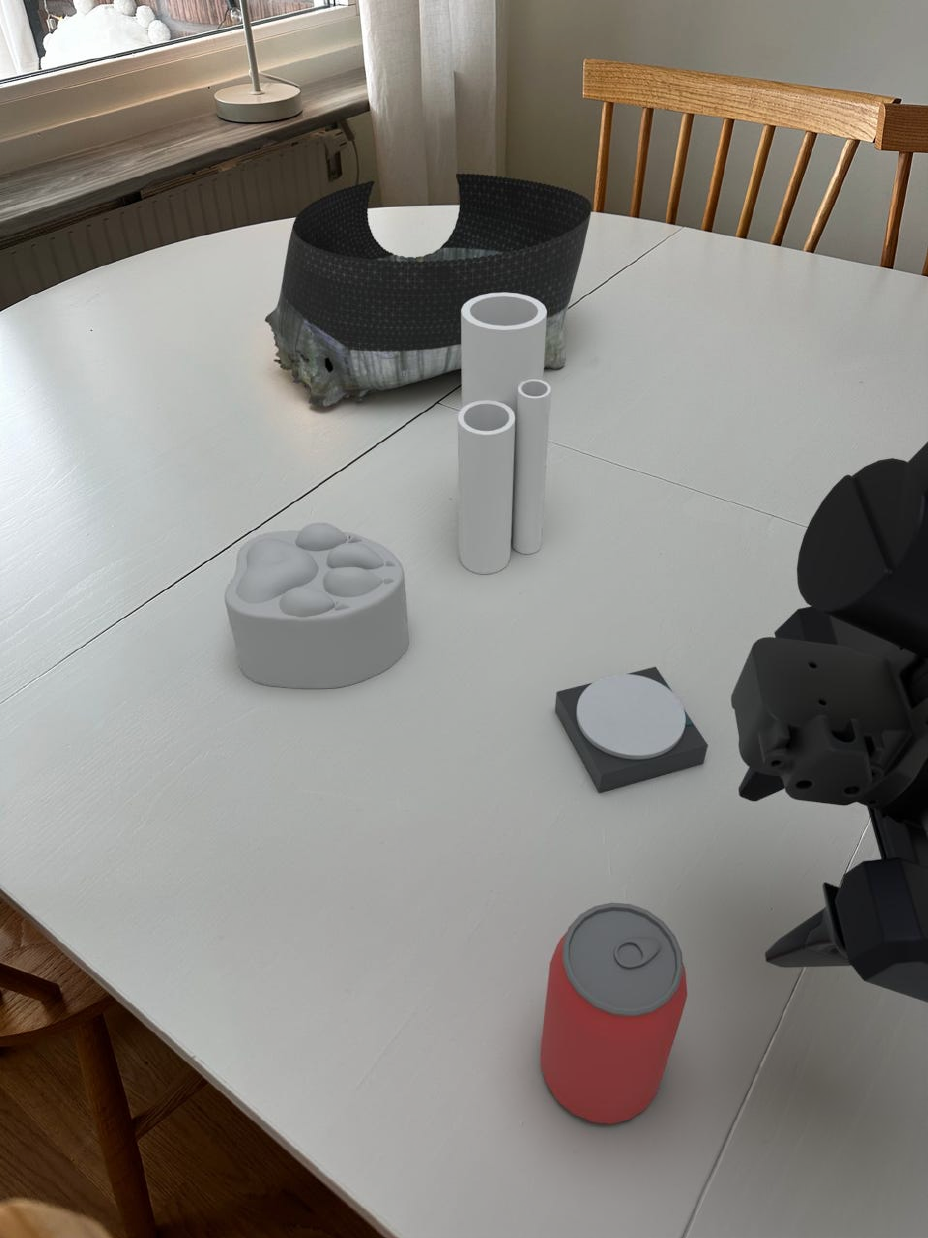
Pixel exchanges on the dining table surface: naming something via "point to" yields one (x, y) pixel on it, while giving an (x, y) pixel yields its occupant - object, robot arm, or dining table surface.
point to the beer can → (611, 1012)
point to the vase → (502, 429)
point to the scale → (629, 728)
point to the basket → (418, 284)
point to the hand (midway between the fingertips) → (758, 873)
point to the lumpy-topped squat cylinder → (316, 608)
